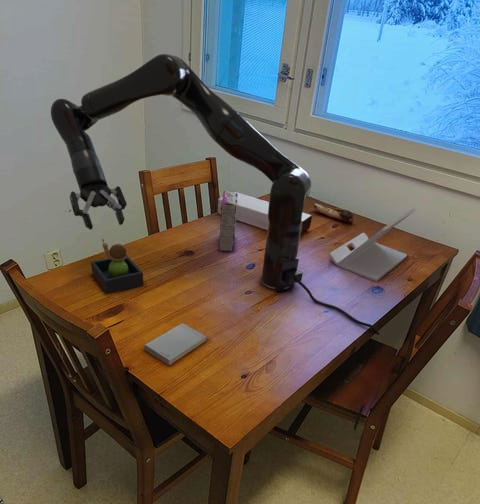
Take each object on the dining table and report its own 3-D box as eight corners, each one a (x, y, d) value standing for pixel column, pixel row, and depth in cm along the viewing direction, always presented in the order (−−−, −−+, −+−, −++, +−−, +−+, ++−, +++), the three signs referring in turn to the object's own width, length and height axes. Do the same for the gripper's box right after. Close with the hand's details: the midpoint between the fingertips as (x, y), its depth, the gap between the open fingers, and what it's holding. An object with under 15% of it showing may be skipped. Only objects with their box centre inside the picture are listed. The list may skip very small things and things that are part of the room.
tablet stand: (407, 256, 159) (422, 210, 150) (376, 281, 143) (391, 231, 133) (360, 239, 168) (372, 194, 158) (326, 260, 151) (337, 211, 141)
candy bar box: (220, 236, 159) (223, 190, 150) (234, 237, 159) (238, 191, 150) (218, 250, 150) (221, 202, 141) (233, 252, 150) (237, 204, 141)
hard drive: (169, 360, 101) (206, 336, 110) (143, 344, 105) (181, 321, 113) (169, 366, 102) (206, 341, 111) (144, 350, 106) (181, 327, 114)
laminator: (309, 230, 170) (312, 215, 167) (294, 241, 161) (297, 225, 158) (232, 206, 183) (233, 191, 180) (215, 214, 174) (216, 199, 171)
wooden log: (359, 221, 183) (320, 206, 191) (362, 210, 181) (323, 195, 189) (348, 226, 177) (309, 211, 185) (351, 215, 174) (311, 200, 182)
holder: (143, 285, 129) (143, 272, 126) (106, 294, 124) (105, 280, 121) (127, 267, 136) (126, 254, 134) (92, 274, 131) (90, 261, 129)
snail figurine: (104, 273, 131) (101, 235, 124) (127, 272, 133) (125, 234, 126) (106, 283, 127) (102, 244, 120) (129, 281, 129) (127, 242, 122)
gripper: (63, 166, 119) (82, 224, 118) (116, 162, 126) (134, 216, 126) (60, 180, 126) (78, 235, 125) (110, 175, 133) (128, 227, 132)
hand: (106, 226), depth 125 cm, fingers open, 8 cm apart
